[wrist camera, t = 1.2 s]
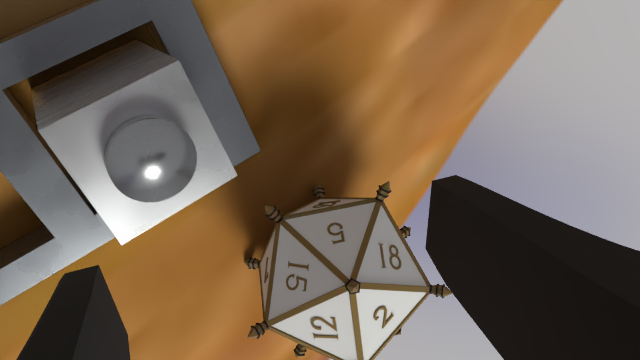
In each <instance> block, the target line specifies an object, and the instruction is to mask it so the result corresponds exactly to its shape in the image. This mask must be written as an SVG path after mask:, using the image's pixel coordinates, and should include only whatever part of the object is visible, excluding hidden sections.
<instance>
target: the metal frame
mask: <svg viewBox="0 0 640 360" xmlns="http://www.w3.org/2000/svg"><path fill="white" fill-rule="evenodd" d="M143 24H146V25H147V27H148V29H149V31H150V33H151V35H152V37H153V39H154V41H155V43H156V44H157V46H158V48H159V50H160V51H161V52H163V53H165V54H167V55H169V56H171V57H173V58H175V59H178V60H179V62H180V63H181V65H182V67H183V69H184V71H185V73H186V75H187V77H188V79H189V81H190V83H191V85H192V87H193V89H194V91H195V93H196V95H197V97H198V99H199V101H200V103H201V105H202V107H203V109H204V111H205V113H206V115H207V116H208V118H209V120H210V122H211V124H212V126H213V128H214V130H215V132H216V134H217V136H218V138H219V140H220V142H221V144H222V146H223V148H224V150H225V152H226V154H227V156H228V158H229V160H230V162H231V164H232V166H233V167H234V166H236V165H238V164H239V163H241V162H243V161H244V160H246V159H248V158H249V157H251V156H253V155H254V154H256V153H258V152H259V151H261V150H260V148H259V146H258V144H257V141H256V139H255V137H254V135H253V133H252V131H251V128H250V126H249V124H248V122H247V120H246V118H245V116H244V113H243V111H242V109H241V107H240V105H239V103H238V100H237V98H236V96H235V94H234V92H233V90H232V87H231V85H230V83H229V81H228V79H227V77H226V74H225V72H224V70H223V68H222V66H221V64H220V62H219V59H218V57H217V55H216V53H215V51H214V49H213V46H212V44H211V42H210V40H209V38H208V36H207V33H206V31H205V29H204V27H203V25H202V23H201V21H200V18H199V16H198V14H197V12H196V10H195V8H194V5H193V3H192V1H191V0H90V1H87V2H85V3H83V4H80V5H78V6H76V7H73V8H71V9H69V10H66V11H64V12H62V13H60V14H57V15H55V16H53V17H50V18H48V19H46V20H43V21H41V22H39V23H37V24H34V25H32V26H30V27H27V28H25V29H23V30H20V31H18V32H16V33H14V34H11V35H9V36H7V37H4V38H2V39H0V171H1V172H2V173H3V175H4V176H5V177H6V178H7V180H8V181H9V182H10V183H11V184H12V186H13V187H14V188H15V189H16V191H17V192H18V193H19V194H20V195H21V197H22V198H23V199H24V200H25V202H26V203H27V204H28V205H29V206H30V208H31V209H32V210H33V211H34V213H35V214H36V215H37V216H38V217H39V219H40V220H41V221H42V222H43V224H44V225H43V226H41V227H40V228H38V229H36V230H34V231H33V232H31V233H29V234H27V235H25V236H24V237H22V238H20V239H18V240H16V241H15V242H13V243H11V244H9V245H8V246H6V247H4V248H2V249H0V305H2V304H4V303H5V302H7V301H9V300H10V299H12V298H14V297H15V296H17V295H19V294H20V293H22V292H24V291H26V290H27V289H29V288H31V287H32V286H34V285H36V284H37V283H39V282H41V281H42V280H44V279H46V278H47V277H49V276H51V275H52V274H54V273H56V272H58V271H59V270H61V269H63V268H64V267H66V266H68V265H69V264H71V263H73V262H74V261H76V260H78V259H79V258H81V257H83V256H84V255H86V254H88V253H89V252H91V251H93V250H95V249H96V248H98V247H100V246H101V245H103V244H105V243H106V242H108V241H110V240H111V239H113V238H115V235H114V234H113V233H112V231H111V230H110V229H109V227H108V226H107V225H106V223H105V222H104V220H103V219H102V218H101V216H100V215H99V214H98V212H97V211H96V209H95V208H94V207H93V205H92V204H91V203H90V201H89V200H88V199H87V197H86V196H85V194H84V193H83V192H82V190H81V189H80V188H79V186H78V185H77V183H76V182H75V181H74V179H73V178H72V177H71V175H70V174H69V173H68V171H67V170H66V168H65V167H64V166H63V164H62V163H61V162H60V160H59V159H58V158H57V156H56V155H55V153H54V152H53V151H52V149H51V148H50V147H49V145H48V144H47V142H46V141H45V140H44V138H43V137H42V136H41V134H40V133H39V132H38V129H37V128H36V127H35V125H34V124H33V122H32V121H31V120H30V118H29V117H28V116H27V114H26V113H25V111H24V110H23V109H22V107H21V106H20V105H19V103H18V102H17V101H16V99H15V98H14V96H13V95H12V94H11V92H10V91H9V90H8V88H7V87H9V86H12V85H14V84H16V83H18V82H20V81H22V80H24V79H27V78H29V77H31V76H33V75H35V74H37V73H39V72H42V71H44V70H46V69H48V68H50V67H52V66H55V65H57V64H59V63H61V62H63V61H65V60H67V59H70V58H72V57H74V56H76V55H78V54H80V53H82V52H85V51H87V50H89V49H91V48H93V47H95V46H97V45H100V44H102V43H104V42H106V41H108V40H110V39H113V38H115V37H117V36H119V35H121V34H123V33H125V32H128V31H130V30H132V29H134V28H136V27H138V26H140V25H143Z"/></svg>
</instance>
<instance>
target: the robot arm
mask: <svg viewBox="0 0 640 360" xmlns="http://www.w3.org/2000/svg"><path fill="white" fill-rule="evenodd" d="M426 250H427V252H428V254H429V256H430V257H431V259H432V261H433V263H434V265H435V266H436V268H437V270H438V272H439V273H440V275H441V277H442V278H443V280H444V282H445V283H446V285H447V286H448V288H449V289H450V290H451V292H452V293H453V294H454V296H455V297H456V298H457V299H458V301H459V302H460V303H461V305H462V306H463V307H464V309H465V310H466V311H467V313H468V314H469V315H470V316H471V318H472V319H473V320H474V322H475V323H476V324H477V325H478V327H479V328H480V329H481V330H482V332H483V333H484V334H485V336H486V337H487V338H488V340H489V341H490V342H491V343H492V345H493V346H494V347H495V349H496V350H497V351H498V352H499V354H500V355H501V356H502V358H503V359H504V360H640V251H637V250H634V249H631V248H628V247H625V246H622V245H619V244H616V243H614V242H611V241H608V240H605V239H603V238H600V237H598V236H595V235H592V234H590V233H587V232H585V231H582V230H580V229H577V228H574V227H572V226H570V225H567V224H565V223H563V222H560V221H558V220H556V219H553V218H551V217H549V216H546V215H544V214H542V213H540V212H537V211H535V210H533V209H531V208H528V207H526V206H524V205H522V204H520V203H518V202H515V201H513V200H511V199H509V198H507V197H505V196H502V195H500V194H498V193H496V192H494V191H492V190H489V189H487V188H485V187H483V186H481V185H478V184H476V183H474V182H472V181H469V180H467V179H464V178H462V177H459V176H457V175H454V176H450V177H446V178H443V179H438V180H434V181H432V187H431V197H430V208H429V218H428V229H427V239H426ZM17 360H130V352H129V343H128V334H127V332H126V329H125V327H124V325H123V322H122V320H121V317H120V315H119V313H118V310H117V308H116V305H115V303H114V301H113V298H112V296H111V293H110V291H109V289H108V286H107V284H106V281H105V279H104V277H103V274H102V272H101V269H100V267H99V265H97V266H93V267H89V268H85V269H81V270H77V271H73V272H69V273H65V274H64V275H63V277H62V278H61V280H60V281H59V283H58V285H57V287H56V289H55V291H54V293H53V295H52V297H51V299H50V300H49V302H48V304H47V306H46V308H45V310H44V312H43V314H42V315H41V317H40V319H39V321H38V323H37V325H36V326H35V328H34V330H33V332H32V334H31V335H30V337H29V339H28V341H27V342H26V344H25V346H24V348H23V349H22V351H21V353H20V354H19V356H18V358H17Z"/></svg>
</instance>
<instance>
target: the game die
mask: <svg viewBox="0 0 640 360" xmlns="http://www.w3.org/2000/svg"><path fill="white" fill-rule="evenodd" d="M323 190H324V188H321V187H320V186H319V185H317V184H316V187H315V189H314V190H313V192H314V193H315V194H314V196H315V197H316V198H317V200H315V201H313V202H311V203H309V204H306V205H304V206H302V207H300V208H298V209H296V210H294V211H292V212H290V213H287V214H285V215H283V216H281V215H280V212H279V210H277V209H276V206H266V205H265V211H266V215H265V216H266V217H269V218H270V220H274V221H275V222H276V224H275V227H274V229H273V232H272V234H271V236H270V239H269V241H268V243H267V246H266V248H265V251H264V253H263V255H262V258H261V260H260V261H259V260H258V259H256V258H254V259H253V258H252V257H250V259H248V260H246V261H245V264H246V265H247V266H248V267H249V269H251V268H253V269H256V268H259V273H260V284H261V296H262V308H263V320H264V321H263V322H262V323H256V325H255V326H251V330H250V332H249V335H248V337H247V338H257V339H258V338H259V337H260V335H263V334H264V333H265V330H267V329H269V330H271V331H273V332H275V333H277V334H280V335H282V336H284V337H286V338H288V339H290V340H292V341H294V342H296V343H298V345H297V346H296V348H295V349H294V352H295V355H296V358H297V357H300V356H304V355H305V354H304V353H305V352H306V347H307V348H309V349H311V350H314V351H316V352H318V353H320V354H323V355H325V356H327V357H329V358H332V359H334V360H374V358H375V357H376V356H377V355H378V354H379V353H380V351H381V350H382V349H383V348H384V347H385V346H386V344H387V343H388V342H389V341H390V340H391V339H392V337H393V336H394V335H397V334H401V327H402V326H403V325H404V323H405V322H406V321H407V320H408V319H409V318H410V316H411V315H412V314H413V313H414V312H415V310H416V309H417V308H418V307H419V306H420V305H421V304H422V302H423V301H424V300H425V299H426V298H427V297H428V295H429V294H434V295H436V297H438V296H440V297H442V298H443V297H445V296H447V295H449V294H451V293H452V292H451V291H450V290H449V289H448V288H447V287H445V285H444V284H443V285H439V284H437V285H434V286H432V285H430V283H429V281H428V279H427V277H426V276H425V274H424V272H423V270H422V269H421V267H420V265H419V263H418V262H417V260H416V258H415V256H414V255H413V253H412V251H411V249H410V248H409V246H408V244H407V242H406V241H405V239H404V238H407V236H410V230H411V228H409V227H406V226H404V227H403V228H401V229H400V230H399V228H398V226H397V225H396V223H395V221H394V219H393V218H392V216H391V214H390V212H389V211H388V209H387V207H386V205H385V204H384V202H383V200H384V199H385V198H387V197H388V194H389V193H390V192H391V190H390V183H389V182H387V183H385V184H383V185H381V186H380V185H379V189H378V190H377V191H376V192H377V196H376V197H375V198H324V194H325V192H323Z"/></svg>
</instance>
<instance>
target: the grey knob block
mask: <svg viewBox="0 0 640 360" xmlns="http://www.w3.org/2000/svg"><path fill="white" fill-rule="evenodd" d="M31 92H32V98H33V104H34V110H35V116H36V122H37V129H38V132H39V133H40V134H41V136H42V137H43V138H44V140H45V141H46V142H47V144H48V145H49V147H50V148H51V149H52V151H53V152H54V153H55V155H56V156H57V158H58V159H59V160H60V162H61V163H62V164H63V166H64V167H65V168H66V170H67V171H68V173H69V174H70V175H71V177H72V178H73V179H74V181H75V182H76V183H77V185H78V186H79V188H80V189H81V190H82V192H83V193H84V194H85V196H86V197H87V199H88V200H89V201H90V203H91V204H92V205H93V207H94V208H95V209H96V211H97V212H98V214H99V215H100V216H101V218H102V219H103V220H104V222H105V223H106V225H107V226H108V227H109V229H110V230H111V231H112V233H113V234H114V235H115V237H116V238H117V240H118V241H119V242H120V244H121V245H123V244H125V243H126V242H128V241H130V240H131V239H133V238H135V237H136V236H138V235H140V234H141V233H143V232H145V231H146V230H148V229H150V228H151V227H153V226H155V225H156V224H158V223H160V222H161V221H163V220H165V219H166V218H168V217H170V216H171V215H173V214H175V213H176V212H178V211H180V210H181V209H183V208H185V207H186V206H188V205H190V204H191V203H193V202H194V201H196V200H198V199H199V198H201V197H203V196H204V195H206V194H208V193H209V192H211V191H213V190H214V189H216V188H218V187H219V186H221V185H223V184H224V183H226V182H228V181H229V180H231V179H233V178H234V177H236V176H238V175H237V173H236V171H235V169H234V168H233V166H232V164H231V162H230V160H229V158H228V156H227V154H226V152H225V150H224V148H223V146H222V144H221V142H220V140H219V138H218V136H217V134H216V132H215V130H214V128H213V126H212V124H211V122H210V120H209V118H208V116H207V115H206V113H205V111H204V109H203V107H202V105H201V103H200V101H199V99H198V97H197V95H196V93H195V91H194V89H193V87H192V85H191V83H190V81H189V79H188V77H187V75H186V73H185V71H184V69H183V67H182V65H181V63H180V62H179V60H178V59H175V58H173V57H171V56H169V55H167V54H165V53H163V52H161V51H159V50H157V49H154V48H152V47H150V46H148V45H146V44H144V43H142V42H140V41H138V40H136V39H135V40H133V41H131V42H129V43H127V44H125V45H123V46H121V47H119V48H116V49H114V50H112V51H110V52H108V53H106V54H104V55H102V56H99V57H97V58H95V59H93V60H91V61H89V62H87V63H85V64H83V65H80V66H78V67H76V68H74V69H72V70H70V71H68V72H66V73H64V74H61V75H59V76H57V77H55V78H53V79H51V80H49V81H47V82H44V83H42V84H40V85H38V86H36V87H34V88H32V89H31Z"/></svg>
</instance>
